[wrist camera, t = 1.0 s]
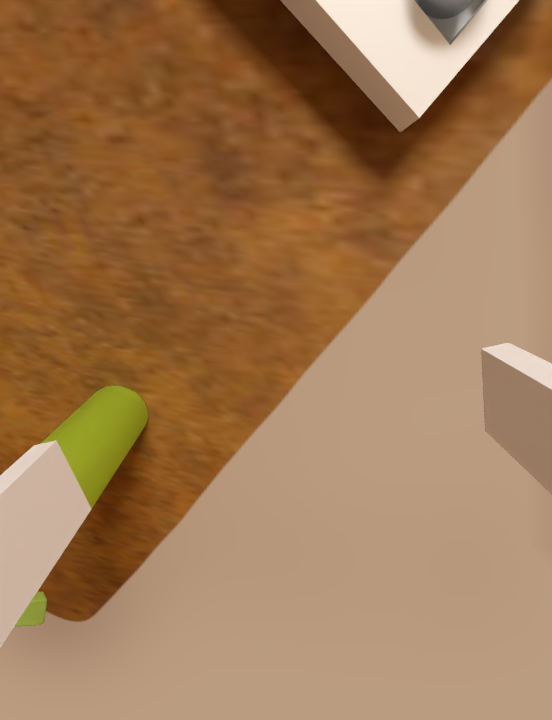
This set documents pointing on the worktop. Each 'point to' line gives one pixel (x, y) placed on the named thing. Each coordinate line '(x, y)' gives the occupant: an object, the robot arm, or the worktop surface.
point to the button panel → (398, 47)
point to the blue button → (443, 7)
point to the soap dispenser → (94, 452)
